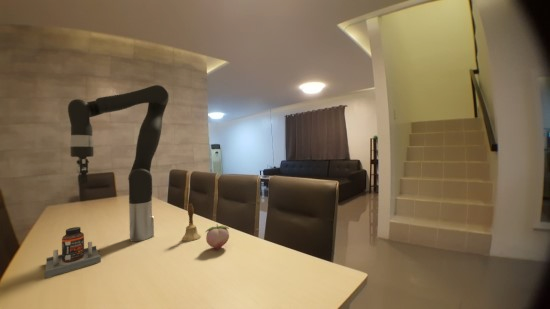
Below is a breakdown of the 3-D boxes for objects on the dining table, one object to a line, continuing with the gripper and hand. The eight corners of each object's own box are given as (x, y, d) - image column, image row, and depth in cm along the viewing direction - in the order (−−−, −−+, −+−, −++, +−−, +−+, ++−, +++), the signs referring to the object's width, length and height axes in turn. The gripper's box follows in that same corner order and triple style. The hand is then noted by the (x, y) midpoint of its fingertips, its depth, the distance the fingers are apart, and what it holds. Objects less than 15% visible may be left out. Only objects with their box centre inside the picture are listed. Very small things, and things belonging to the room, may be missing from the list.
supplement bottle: (70, 263, 75) (69, 231, 75) (57, 262, 76) (56, 231, 76) (88, 255, 81) (87, 226, 81) (76, 254, 82) (75, 225, 82)
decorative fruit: (226, 242, 93) (226, 219, 93) (231, 249, 86) (230, 224, 86) (204, 246, 89) (203, 223, 89) (207, 254, 82) (206, 228, 82)
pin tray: (96, 251, 88) (95, 236, 88) (100, 261, 79) (100, 245, 79) (46, 263, 78) (46, 247, 78) (45, 278, 68) (44, 259, 69)
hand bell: (178, 239, 99) (177, 205, 99) (193, 233, 106) (192, 201, 106) (189, 242, 94) (188, 206, 95) (204, 236, 101) (203, 203, 102)
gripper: (95, 145, 91) (96, 183, 91) (91, 147, 101) (92, 181, 101) (71, 145, 86) (71, 185, 86) (69, 146, 96) (70, 182, 96)
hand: (82, 182), depth 93 cm, fingers open, 8 cm apart
